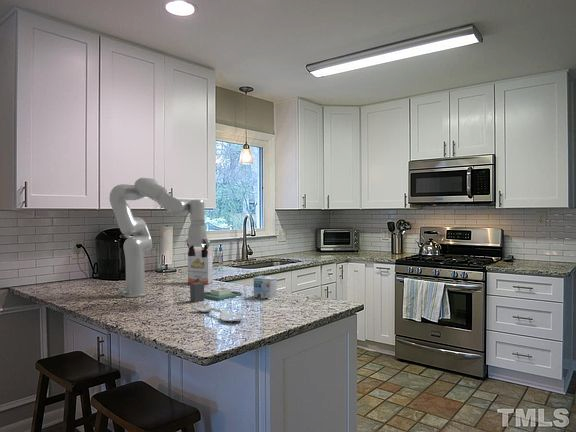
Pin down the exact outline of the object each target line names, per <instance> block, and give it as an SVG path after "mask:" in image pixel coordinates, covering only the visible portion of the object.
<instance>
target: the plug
mask: <svg viewBox="0 0 576 432" xmlns="http://www.w3.org/2000/svg"><path fill="white" fill-rule="evenodd" d="M204 292H205V284H204V283H201V282H197V283H189V295H190V296H189V299H190V300H189V302H190V301H192V302H191V303H195V302H196V303H200V302H204V301H205V298H204ZM199 301H200V302H199Z"/></svg>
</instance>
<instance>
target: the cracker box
mask: <svg viewBox="0 0 576 432" xmlns="http://www.w3.org/2000/svg"><path fill="white" fill-rule="evenodd" d="M194 250H195V255H194V256H189V249H188V250H187V283H188V284H191V283H197V282H201V283H204V285H210V284H213V250H212V249H207V257H204V258H202V251H201V250H203V249H202V248H200V249H199V248H198V249H197V248H194Z"/></svg>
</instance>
